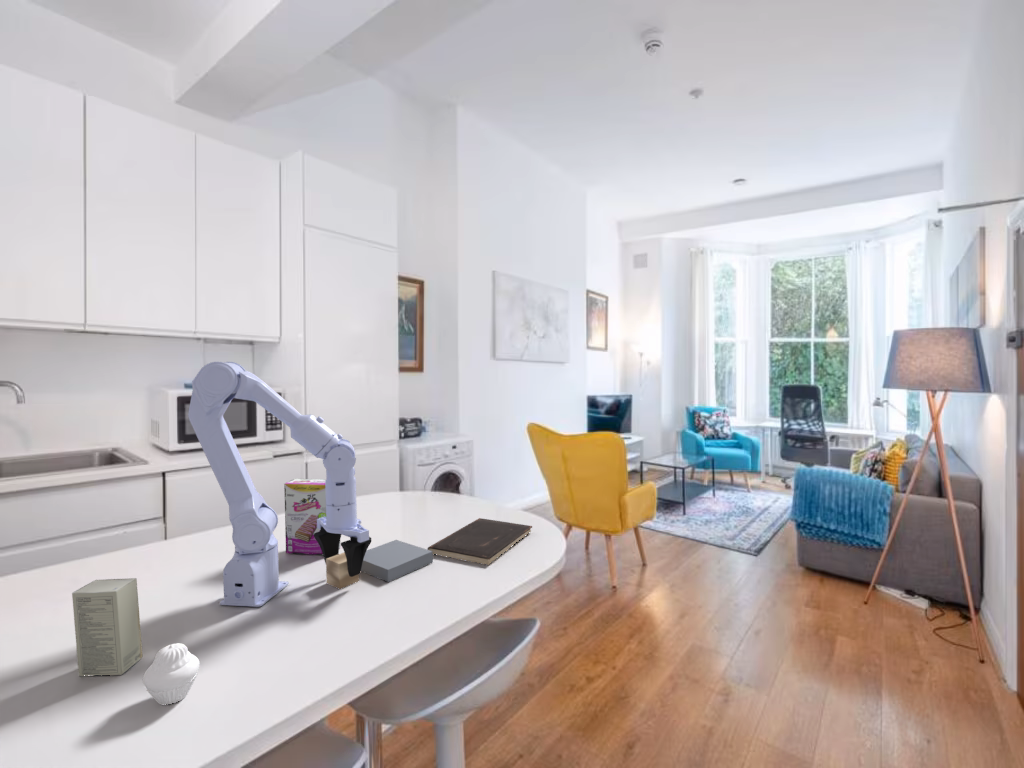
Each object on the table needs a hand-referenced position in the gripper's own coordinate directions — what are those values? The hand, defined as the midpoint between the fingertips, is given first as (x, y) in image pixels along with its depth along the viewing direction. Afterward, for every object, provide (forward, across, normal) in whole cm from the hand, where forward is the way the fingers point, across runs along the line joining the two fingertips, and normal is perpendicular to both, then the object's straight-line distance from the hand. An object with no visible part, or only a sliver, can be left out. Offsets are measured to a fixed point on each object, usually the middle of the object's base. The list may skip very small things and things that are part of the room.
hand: (343, 570), depth 99 cm
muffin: (+2, -12, +34) cm, 36 cm away
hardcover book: (+3, -8, -33) cm, 34 cm away
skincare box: (+2, +3, +37) cm, 37 cm away
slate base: (+2, -1, -11) cm, 12 cm away
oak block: (+2, 0, 0) cm, 3 cm away
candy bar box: (+3, +20, -6) cm, 21 cm away
